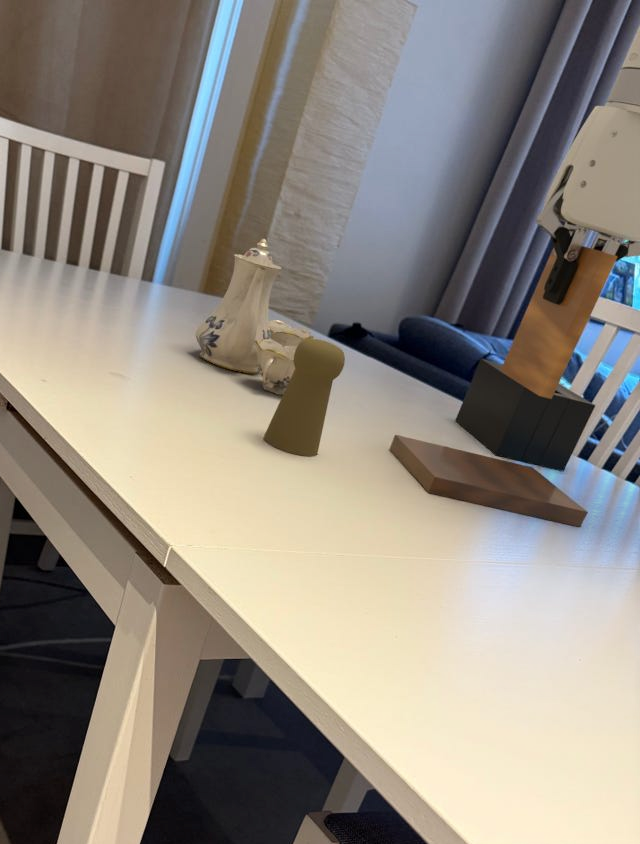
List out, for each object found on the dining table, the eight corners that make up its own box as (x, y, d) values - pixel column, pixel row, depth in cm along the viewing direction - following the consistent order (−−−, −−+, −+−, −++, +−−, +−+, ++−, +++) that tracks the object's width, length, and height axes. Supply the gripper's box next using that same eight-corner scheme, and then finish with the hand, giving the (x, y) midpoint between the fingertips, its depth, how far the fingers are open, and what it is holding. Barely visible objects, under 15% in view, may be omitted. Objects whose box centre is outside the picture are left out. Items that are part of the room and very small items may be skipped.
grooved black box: (524, 437, 135) (552, 377, 131) (571, 473, 122) (604, 407, 118) (454, 420, 133) (480, 358, 129) (495, 455, 120) (525, 387, 116)
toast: (511, 374, 103) (569, 242, 96) (551, 399, 94) (618, 256, 88) (499, 371, 103) (557, 238, 96) (538, 395, 94) (604, 252, 87)
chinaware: (314, 422, 117) (373, 291, 109) (191, 376, 114) (243, 238, 106) (288, 371, 141) (335, 261, 134) (186, 331, 139) (228, 217, 131)
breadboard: (526, 481, 112) (532, 467, 111) (580, 527, 100) (588, 512, 99) (389, 449, 108) (394, 434, 107) (428, 492, 96) (435, 476, 95)
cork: (321, 460, 96) (358, 356, 91) (266, 446, 96) (300, 340, 91) (313, 443, 102) (348, 343, 97) (261, 429, 101) (292, 328, 96)
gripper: (699, 126, 91) (609, 316, 99) (558, 78, 88) (478, 278, 96) (747, 128, 84) (646, 331, 93) (597, 76, 81) (507, 291, 90)
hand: (561, 303), depth 94 cm, fingers closed on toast, 1 cm apart
